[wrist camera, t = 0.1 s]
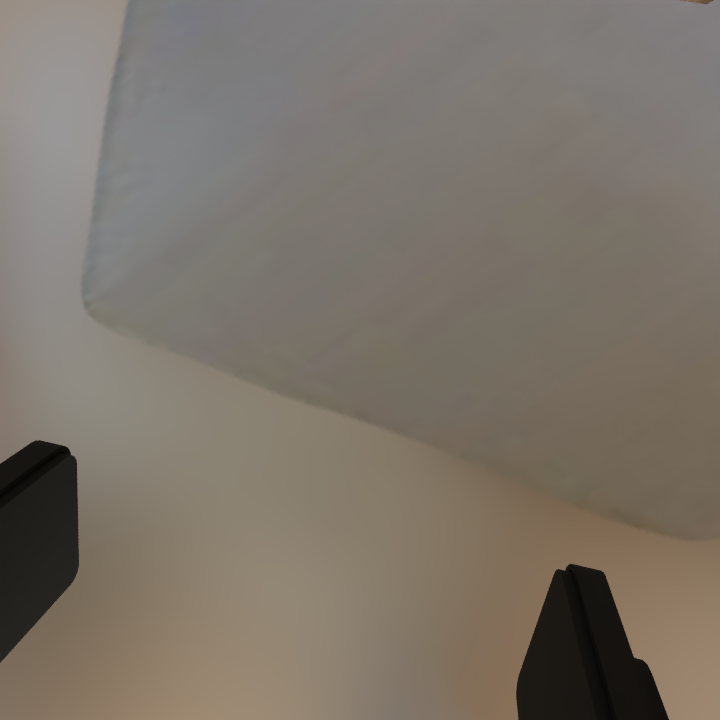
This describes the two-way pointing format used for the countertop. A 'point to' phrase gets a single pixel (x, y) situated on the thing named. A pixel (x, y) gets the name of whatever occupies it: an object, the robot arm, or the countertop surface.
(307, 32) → the countertop surface
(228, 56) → the countertop surface
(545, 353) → the countertop surface
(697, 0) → the frame
